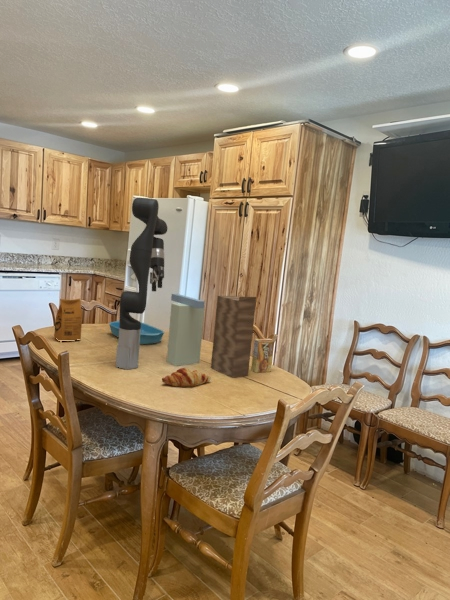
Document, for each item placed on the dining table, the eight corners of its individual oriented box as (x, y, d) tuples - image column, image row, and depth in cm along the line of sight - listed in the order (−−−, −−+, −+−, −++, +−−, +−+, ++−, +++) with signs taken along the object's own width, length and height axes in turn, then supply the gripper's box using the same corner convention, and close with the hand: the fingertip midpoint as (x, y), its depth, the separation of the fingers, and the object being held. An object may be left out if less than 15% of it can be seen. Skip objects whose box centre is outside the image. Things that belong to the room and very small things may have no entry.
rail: (203, 308, 192) (204, 301, 191) (198, 308, 190) (198, 301, 189) (176, 300, 209) (177, 293, 209) (171, 300, 207) (171, 293, 207)
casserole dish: (170, 344, 235) (171, 332, 235) (135, 348, 220) (136, 335, 219) (135, 330, 262) (136, 319, 261) (102, 333, 247) (102, 321, 246)
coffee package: (52, 338, 223) (54, 297, 220) (75, 337, 231) (77, 297, 228) (58, 343, 215) (60, 300, 212) (82, 341, 223) (84, 300, 220)
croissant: (206, 388, 180) (204, 369, 182) (217, 384, 172) (214, 364, 174) (158, 390, 170) (157, 371, 172) (167, 386, 161) (166, 366, 164)
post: (247, 375, 191) (256, 297, 187) (232, 378, 185) (240, 297, 181) (225, 365, 203) (233, 291, 199) (210, 367, 198) (218, 291, 193)
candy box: (266, 369, 204) (269, 338, 203) (271, 371, 201) (274, 340, 199) (250, 370, 200) (254, 338, 198) (255, 373, 196) (259, 340, 194)
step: (199, 363, 204) (204, 305, 200) (174, 366, 195) (179, 305, 192) (191, 359, 209) (196, 303, 206) (166, 361, 200) (171, 303, 197)
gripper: (168, 255, 212) (169, 287, 209) (159, 262, 225) (159, 292, 221) (154, 253, 209) (154, 286, 206) (145, 261, 221) (145, 291, 218)
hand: (156, 289), depth 214 cm, fingers open, 8 cm apart
